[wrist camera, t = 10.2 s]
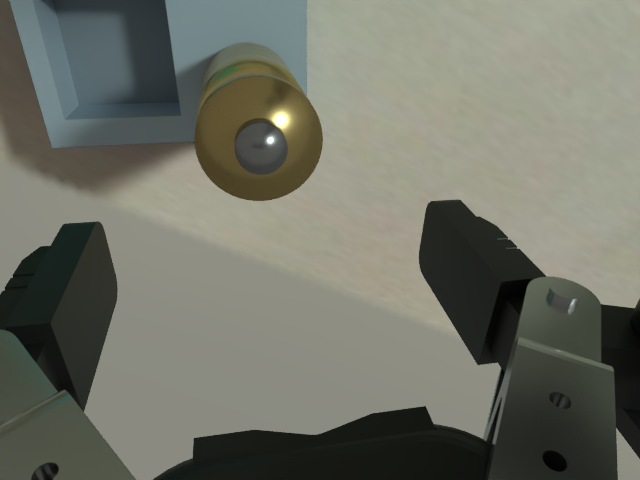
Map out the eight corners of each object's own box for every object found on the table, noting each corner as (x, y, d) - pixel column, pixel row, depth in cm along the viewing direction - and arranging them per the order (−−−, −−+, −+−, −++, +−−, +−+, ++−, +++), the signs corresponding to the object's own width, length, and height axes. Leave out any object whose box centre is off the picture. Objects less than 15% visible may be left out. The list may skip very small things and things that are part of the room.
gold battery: (196, 42, 24) (185, 84, 16) (293, 41, 25) (328, 80, 17) (207, 137, 27) (201, 213, 19) (294, 133, 28) (325, 205, 19)
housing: (24, -68, 24) (-12, -74, 20) (294, -62, 26) (306, -66, 23) (73, 123, 29) (52, 148, 25) (296, 115, 32) (306, 136, 28)
